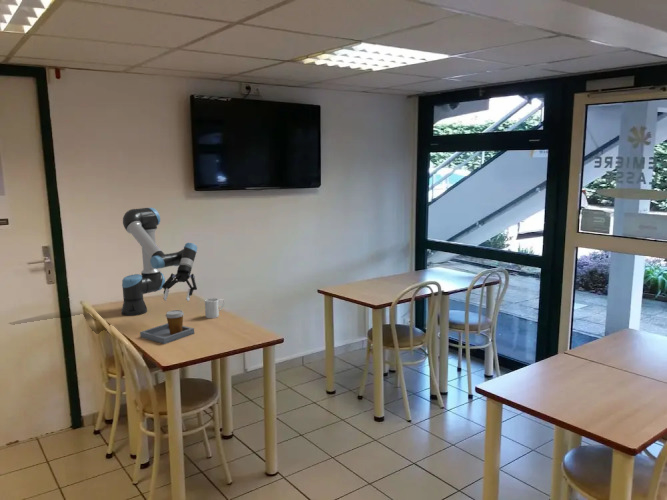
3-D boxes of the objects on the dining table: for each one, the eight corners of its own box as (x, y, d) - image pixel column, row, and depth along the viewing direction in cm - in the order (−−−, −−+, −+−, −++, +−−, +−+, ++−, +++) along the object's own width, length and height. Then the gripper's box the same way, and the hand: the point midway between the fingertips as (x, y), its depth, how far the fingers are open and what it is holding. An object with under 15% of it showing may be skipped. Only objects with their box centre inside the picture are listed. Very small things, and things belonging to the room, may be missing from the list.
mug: (208, 319, 318) (207, 302, 317) (203, 316, 325) (202, 299, 323) (227, 315, 325) (226, 299, 324) (222, 312, 332) (221, 296, 330)
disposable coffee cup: (187, 330, 295) (186, 309, 293) (181, 336, 285) (179, 314, 283) (171, 330, 296) (169, 309, 294) (164, 336, 286) (162, 314, 284)
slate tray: (140, 337, 287) (140, 332, 286) (170, 327, 303) (170, 322, 302) (164, 344, 276) (164, 338, 275) (194, 333, 292) (194, 328, 291)
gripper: (207, 271, 310) (199, 303, 299) (167, 270, 314) (158, 302, 303) (203, 264, 304) (194, 297, 293) (162, 263, 308) (152, 296, 297)
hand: (175, 300), depth 298 cm, fingers open, 13 cm apart
